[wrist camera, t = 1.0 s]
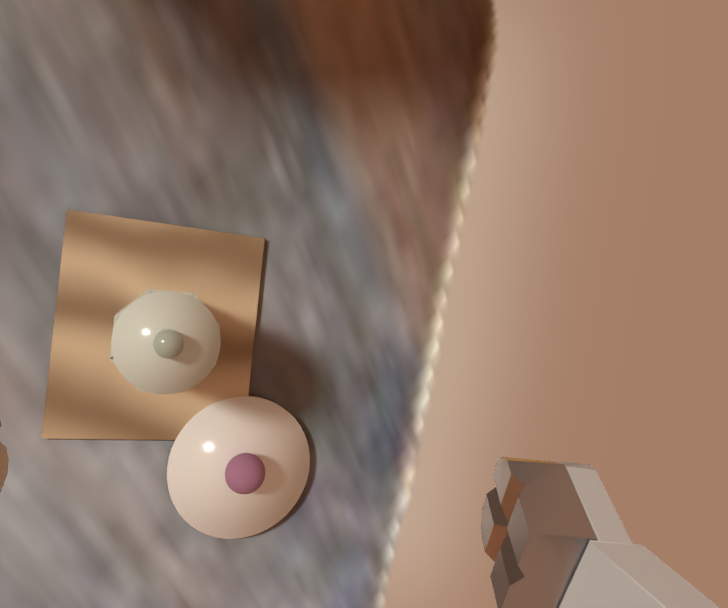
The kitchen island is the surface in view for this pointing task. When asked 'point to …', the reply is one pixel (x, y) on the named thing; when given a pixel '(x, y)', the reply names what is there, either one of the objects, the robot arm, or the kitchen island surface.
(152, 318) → the lidded octagonal canister
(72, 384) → the mat
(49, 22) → the kitchen island surface
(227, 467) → the ball
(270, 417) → the saucer
